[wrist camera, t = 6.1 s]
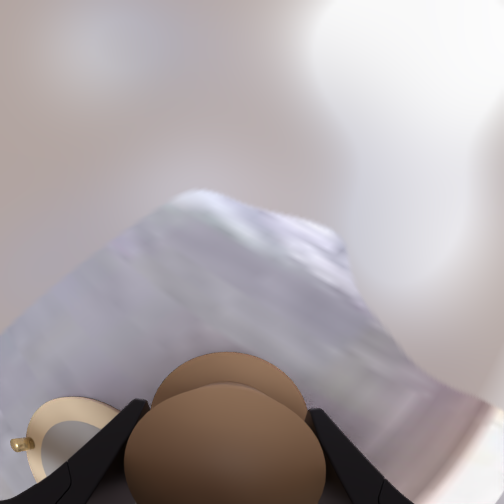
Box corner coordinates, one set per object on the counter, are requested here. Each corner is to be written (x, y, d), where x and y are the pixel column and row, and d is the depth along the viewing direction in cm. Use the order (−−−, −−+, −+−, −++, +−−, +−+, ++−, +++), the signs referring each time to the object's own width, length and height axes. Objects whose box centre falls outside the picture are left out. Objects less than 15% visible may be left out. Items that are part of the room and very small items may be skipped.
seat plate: (167, 554, 10) (159, 573, 7) (33, 493, 10) (13, 500, 7) (187, 429, 15) (178, 438, 12) (40, 372, 15) (16, 369, 12)
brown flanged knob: (294, 487, 11) (350, 570, 3) (152, 472, 11) (81, 541, 3) (308, 360, 15) (388, 336, 7) (165, 344, 15) (92, 302, 7)
